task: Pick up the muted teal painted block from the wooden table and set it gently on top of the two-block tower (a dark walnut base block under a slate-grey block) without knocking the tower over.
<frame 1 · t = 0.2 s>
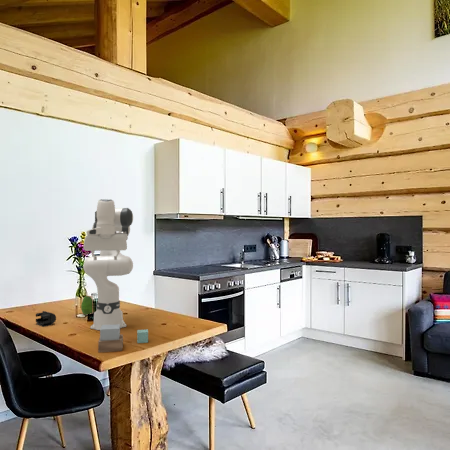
hand: (105, 260, 191), 39 cm above the table, tool pointing down, fingers open, 8 cm apart
end cap: (45, 324, 221), on the table
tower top: (110, 337, 177), point 5 cm above the table, touching tower base
teal block: (142, 341, 188), on the table
tower base: (111, 349, 177), on the table, touching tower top
avocado: (87, 315, 245), on the table
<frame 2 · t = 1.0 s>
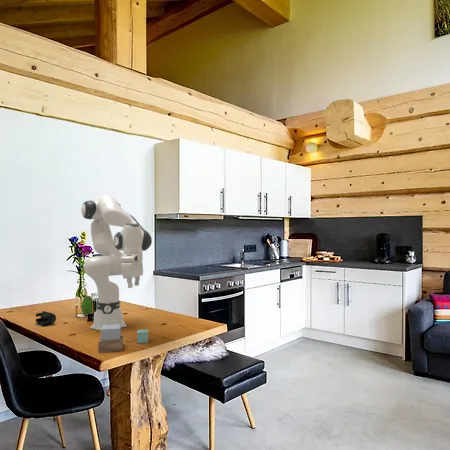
hand: (133, 286, 186), 26 cm above the table, tool pointing down, fingers open, 8 cm apart
nothing on the table moved.
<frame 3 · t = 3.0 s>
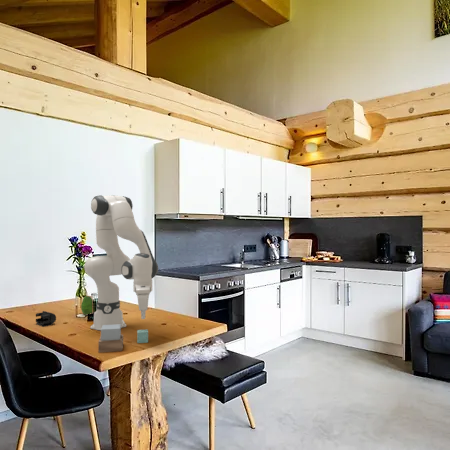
hand: (143, 316, 188), 12 cm above the table, tool pointing down, fingers open, 8 cm apart
nothing on the table moved.
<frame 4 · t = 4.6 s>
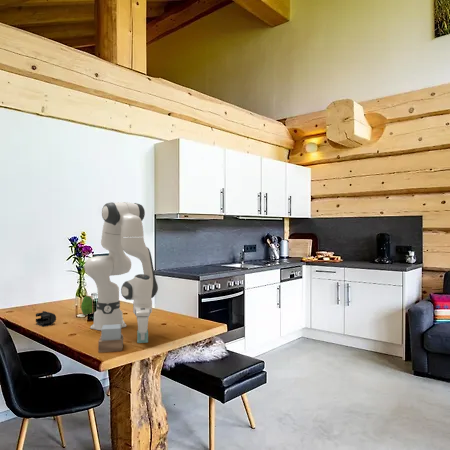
hand: (142, 337, 188), 2 cm above the table, tool pointing down, fingers closed on teal block, 5 cm apart
teal block: (142, 341, 188), on the table, touching gripper
everything else where it was.
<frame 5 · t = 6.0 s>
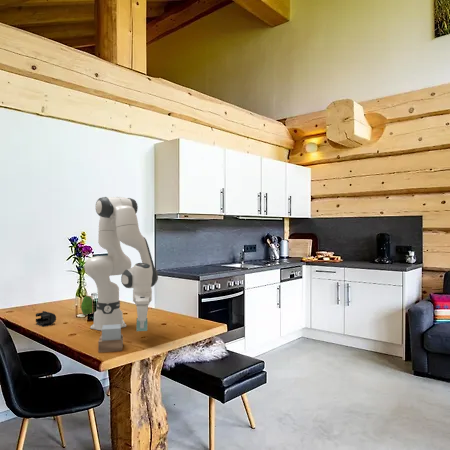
hand: (141, 326, 189), 7 cm above the table, tool pointing down, fingers closed on teal block, 5 cm apart
teal block: (141, 329, 189), point 5 cm above the table, touching gripper
everything else where it was.
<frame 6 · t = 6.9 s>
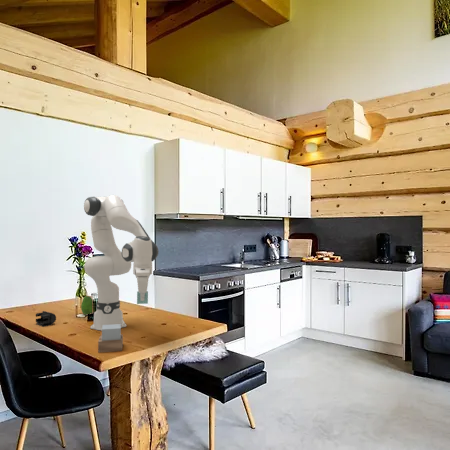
hand: (142, 299, 188), 20 cm above the table, tool pointing down, fingers closed on teal block, 5 cm apart
teal block: (142, 302, 188), point 18 cm above the table, touching gripper
everything else where it was.
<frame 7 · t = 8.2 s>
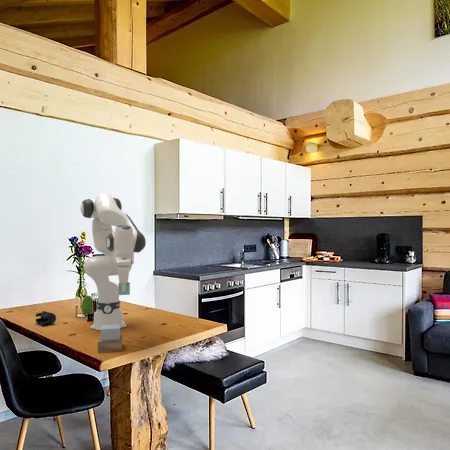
hand: (123, 290, 182), 25 cm above the table, tool pointing down, fingers closed on teal block, 5 cm apart
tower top: (110, 337, 177), point 5 cm above the table
teal block: (124, 294, 182), point 24 cm above the table, touching gripper
tower base: (110, 349, 177), on the table
everything else where it was.
when the fingers open (13 cm above the table, at t = 12.2 s): teal block drops 2 cm, resting on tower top.
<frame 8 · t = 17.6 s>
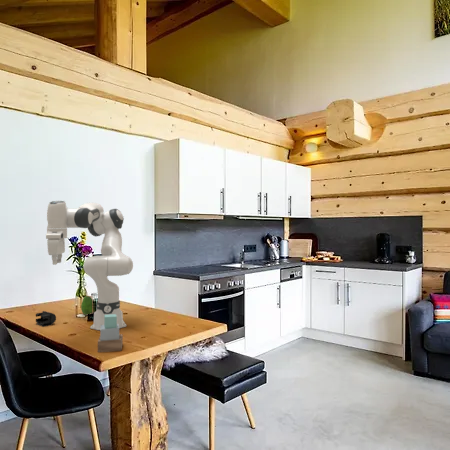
hand: (57, 263, 188), 37 cm above the table, tool pointing down, fingers open, 8 cm apart
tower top: (109, 337, 177), point 5 cm above the table, touching teal block, tower base
teal block: (110, 326, 177), point 10 cm above the table, touching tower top
tower base: (110, 348, 178), on the table, touching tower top
everything else where it was.
at the end: teal block 0.4 cm off-centre on the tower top, point 5.0 cm above the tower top's base; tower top 0.3 cm off-centre on the tower base, point 5.0 cm above the tower base's base; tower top tilted 0° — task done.
